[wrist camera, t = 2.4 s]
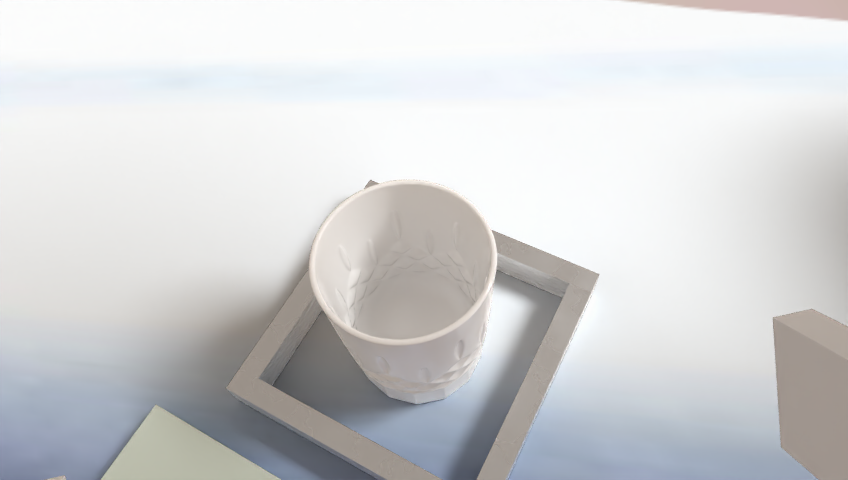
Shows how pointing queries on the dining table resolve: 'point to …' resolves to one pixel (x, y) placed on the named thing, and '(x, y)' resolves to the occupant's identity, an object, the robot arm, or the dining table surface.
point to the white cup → (407, 285)
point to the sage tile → (179, 454)
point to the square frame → (389, 468)
